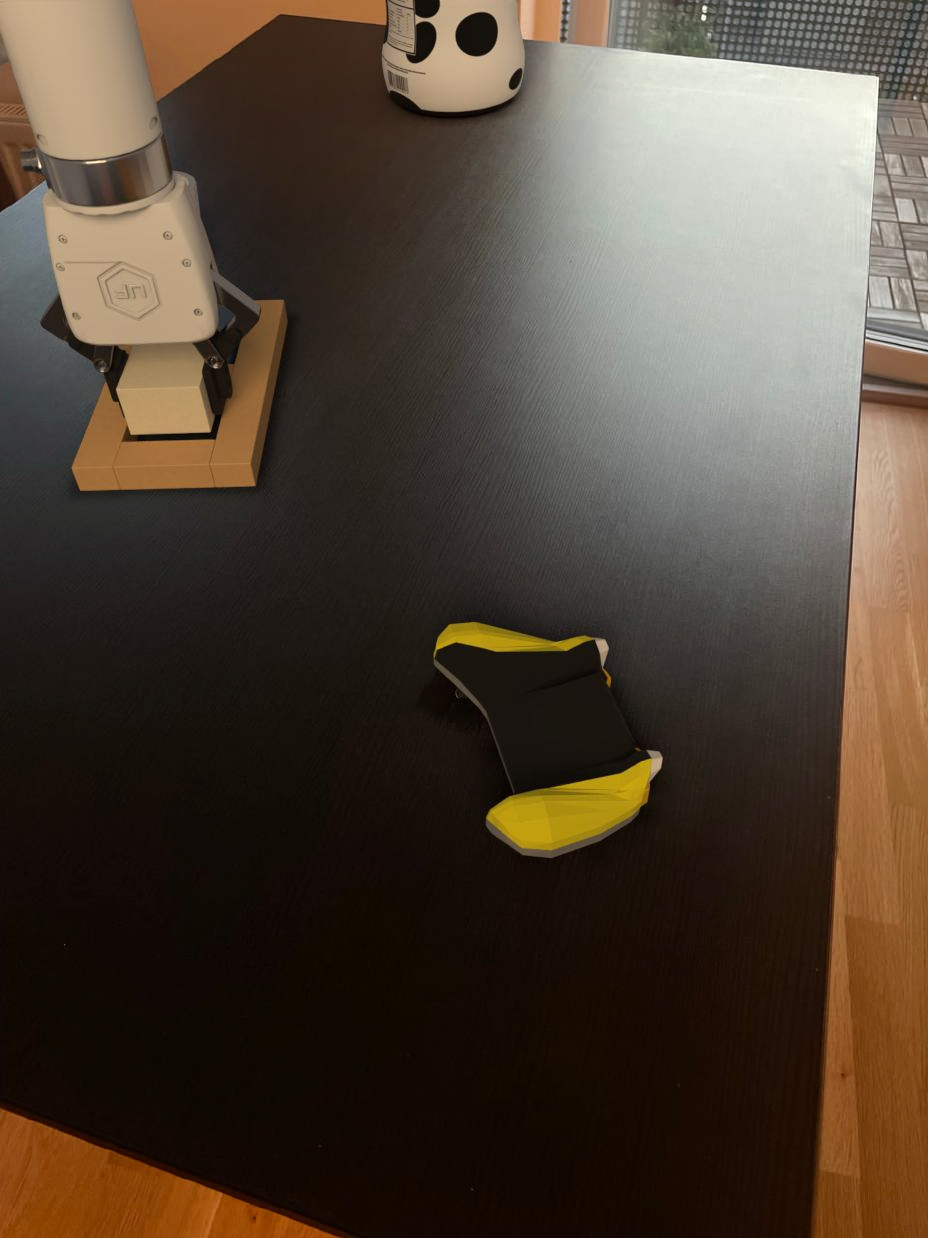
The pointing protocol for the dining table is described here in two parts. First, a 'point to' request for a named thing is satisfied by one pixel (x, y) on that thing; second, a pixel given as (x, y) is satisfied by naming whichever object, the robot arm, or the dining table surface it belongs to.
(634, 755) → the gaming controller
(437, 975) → the dining table surface
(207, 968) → the dining table surface
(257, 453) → the frame
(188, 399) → the cream block
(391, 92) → the milk container
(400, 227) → the dining table surface
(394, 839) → the dining table surface
